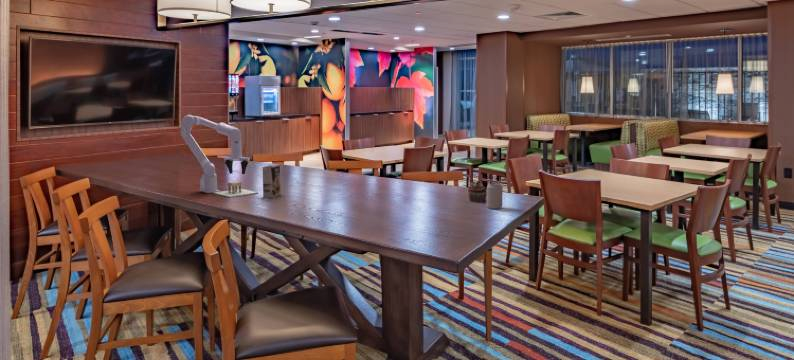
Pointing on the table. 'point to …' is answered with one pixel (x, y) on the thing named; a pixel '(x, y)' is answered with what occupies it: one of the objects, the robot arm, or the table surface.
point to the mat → (243, 192)
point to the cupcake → (477, 192)
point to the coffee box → (271, 181)
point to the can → (494, 196)
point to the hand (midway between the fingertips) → (237, 173)
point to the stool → (234, 187)
